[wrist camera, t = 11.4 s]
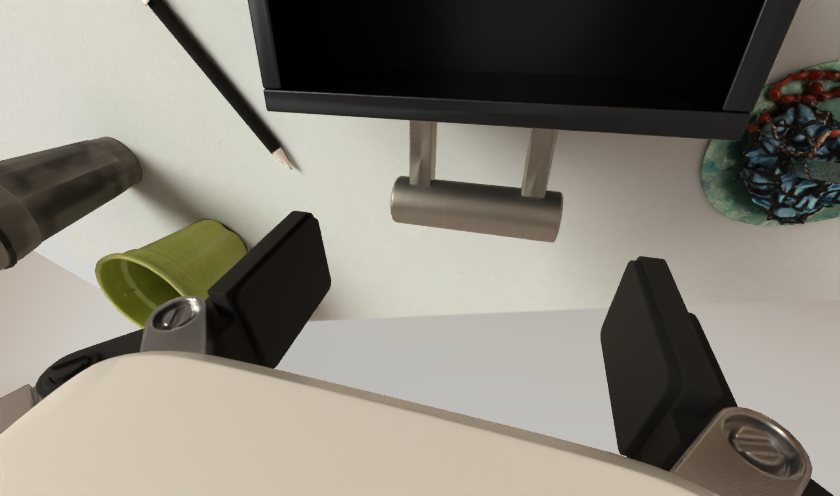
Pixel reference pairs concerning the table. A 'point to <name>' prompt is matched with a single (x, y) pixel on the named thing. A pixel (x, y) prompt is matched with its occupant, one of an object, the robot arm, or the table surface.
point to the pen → (216, 78)
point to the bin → (518, 81)
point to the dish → (782, 154)
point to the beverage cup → (58, 191)
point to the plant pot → (168, 269)
